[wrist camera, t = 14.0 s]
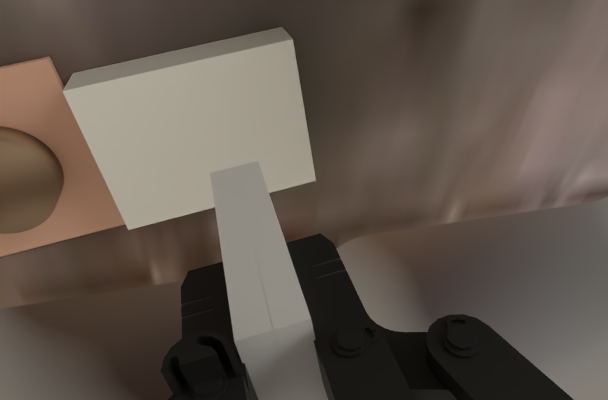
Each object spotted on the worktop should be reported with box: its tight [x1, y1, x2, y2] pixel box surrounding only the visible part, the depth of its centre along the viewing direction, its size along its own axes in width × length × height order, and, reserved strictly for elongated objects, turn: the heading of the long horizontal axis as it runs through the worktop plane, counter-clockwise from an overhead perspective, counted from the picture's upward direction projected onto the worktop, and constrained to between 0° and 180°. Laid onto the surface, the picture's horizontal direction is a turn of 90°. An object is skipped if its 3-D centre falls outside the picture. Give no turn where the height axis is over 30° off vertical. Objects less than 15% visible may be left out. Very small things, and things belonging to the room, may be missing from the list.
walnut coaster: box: [0, 126, 64, 234], centre depth 35 cm, size 8×8×2 cm
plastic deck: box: [63, 27, 316, 230], centre depth 37 cm, size 12×16×4 cm
